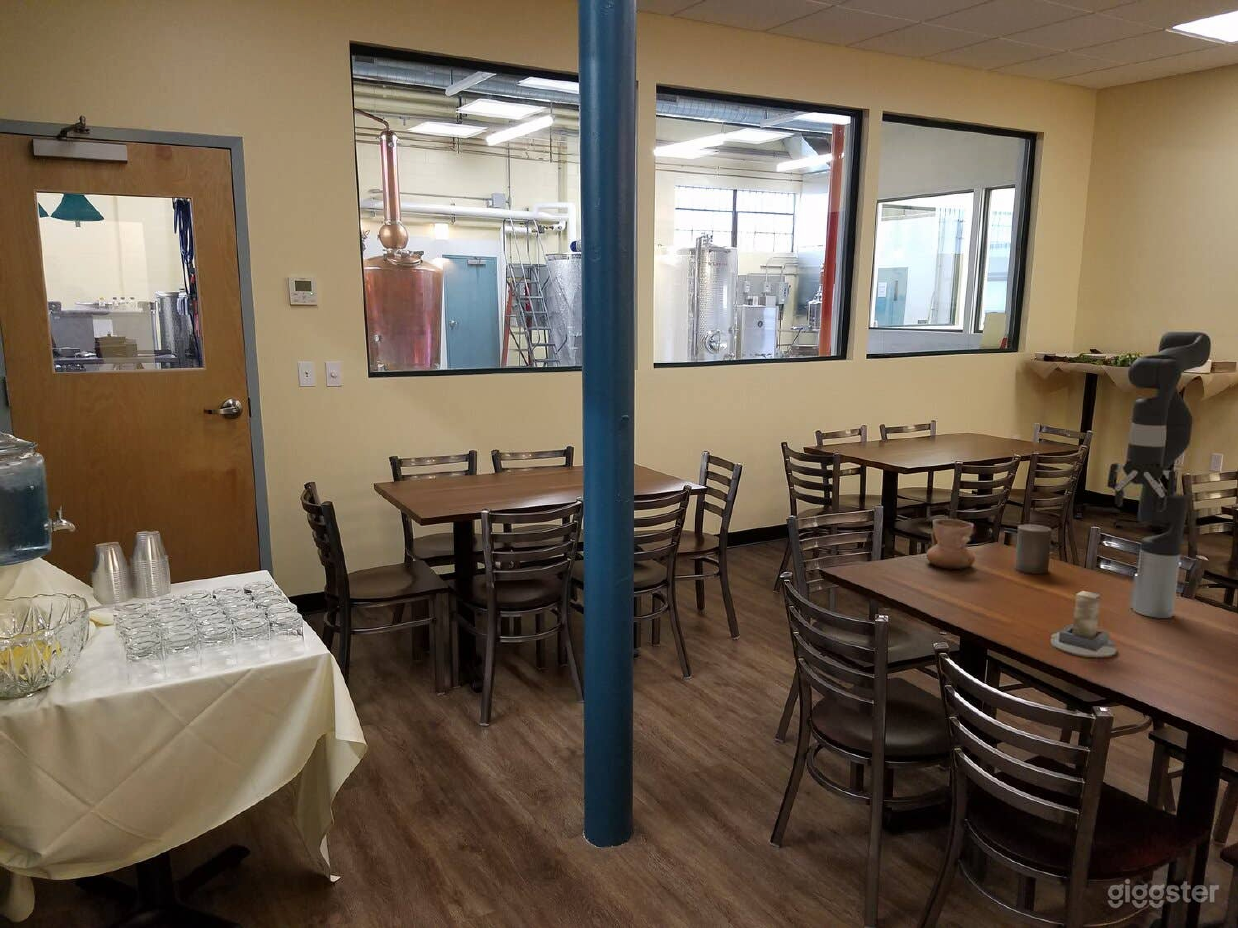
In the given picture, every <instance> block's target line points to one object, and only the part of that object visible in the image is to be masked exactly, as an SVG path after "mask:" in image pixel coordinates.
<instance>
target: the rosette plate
mask: <svg viewBox="0 0 1238 928" xmlns="http://www.w3.org/2000/svg"><path fill="white" fill-rule="evenodd" d="M1072 632H1073V623H1071V624H1069V625H1067V626H1065V627H1064V628H1063V629H1062V630H1059V631H1057V632H1055V633H1053V634H1052V635H1051V636H1050V644H1051V645H1052V646H1053V647H1054V648H1056V649H1057V648H1058V649H1057V650H1059V651H1061V652H1064V653H1067V654H1069V653H1070V655H1073V656H1077V657H1084V658H1089V657H1097V658H1096V659H1099V658H1098V657H1101V658H1100V659H1103V658H1102V657H1108V658H1111V657H1114V656H1115V655H1116V654H1117V645H1116V644H1115V643H1114V642H1113V641H1111V640H1110V639H1109V636H1110V635H1109V634H1110V632H1109V631H1105V630H1100V629H1097V630H1096V637H1095V638H1094V639H1093V638H1089V637H1085V636H1081V635H1077V634H1073V633H1072ZM1113 655H1114V656H1113Z"/></svg>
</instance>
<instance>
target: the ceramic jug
mask: <svg viewBox="0 0 1238 928" xmlns="http://www.w3.org/2000/svg"><path fill="white" fill-rule="evenodd" d="M932 527H933V530H931V531H932V532H931V541H932V547H930V548H929V549H928V550H927V551H926V555H925V556H926V559H927V560H928V561H929V562H930V563H931V564H932V565H934V566H936V567H940V568H944V569H946V570H947V569H948V570H960V569H966V568H969V567H971V566H972V565H973V564H974V563H975V561H976V557H975V555H974V553H973V552H972V551H971V550H969V548H967V547H966V544H967V543H968V542H970V541H971V536H972V533H973V530H974V527H975V526H974V523H971V522H968V521H964V520H959V519H953V518H938V519H933V521H932Z"/></svg>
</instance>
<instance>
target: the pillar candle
mask: <svg viewBox="0 0 1238 928" xmlns="http://www.w3.org/2000/svg"><path fill="white" fill-rule="evenodd" d="M1052 531H1053V530H1052V528H1051V527H1048V526H1044V525H1041V524H1040V525H1039V524H1037V523H1035V524H1020V525H1018V526H1017V535H1016V536H1017V539H1016V547H1015V548H1016V550H1015V560H1014V569H1015V570H1016V571H1018V572H1021V573H1026V574H1034V575H1045V574H1048V573H1049V565H1050V553H1051V541H1052V534H1053V533H1052Z"/></svg>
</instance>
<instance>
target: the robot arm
mask: <svg viewBox="0 0 1238 928" xmlns="http://www.w3.org/2000/svg"><path fill="white" fill-rule="evenodd" d="M1211 348H1212V343H1211V338H1210V335H1208V334H1207V333H1205V332H1199V331H1167V332H1165V333H1163V335H1162V336H1161V338H1160V341H1159V345H1158V352H1157V353H1156V354H1153V355H1151V354H1150V355H1146V356H1140V357H1138V358H1137V359H1135V360H1134V361H1133V362H1132V364H1131V363H1130V366H1129V368H1128V372H1127V378H1128V381H1129V383H1130V384H1131V385H1133V386H1134V387H1135V388H1139V389H1151V390H1152V389H1153V390H1155V394H1154V395H1155V396H1153V397H1147V398H1146V397H1145V398H1140V399H1139V398H1138V399H1137V400H1135V401H1134V404H1133V409H1132V416H1131V417H1132V419H1131V425H1130V430H1129V434H1128V438H1127V439H1128V440H1127V441H1128V444H1127V451H1126V452H1127V453H1126V460H1125V461H1126V462H1125V464H1120V463H1119V462H1114V463H1112V464H1111V465H1110V468H1109V474H1108V479H1107V484H1106V485H1107V487H1108V488H1111V489H1113V490H1114V491H1115V493H1114V504H1116V506H1117V507H1119V508H1120V507H1123V504H1124V503H1123V502H1124V496H1125V490H1124V489H1125V488H1126V487H1127V486H1128V485H1130V484H1131V483H1132V484H1133V485H1142V488H1141V490H1140V491H1141V492H1140V497H1139V502H1138V507H1137V508H1138V511H1137V518H1138V521H1139V523H1140V524H1143V525H1148V526H1149V525H1150V526H1155V527H1164V528H1169V530H1168V531H1166V532H1164V533H1161V534H1158V535H1150V536H1146V537H1143V538H1142V540H1141V541H1140V546H1139V547H1140V550H1139V557H1138V567H1137V573H1135V574H1134V575H1133V583H1132V591H1131V592H1132V593H1131V599H1130V608H1131V609H1133V612H1135V613H1137V614H1139V615H1142V616H1145V617H1149V618H1156V619H1168V618H1172V617H1173V616H1174V610H1175V609H1174V608H1175V603H1176V602H1175V601H1176V594H1177V585H1178V578H1179V571H1180V562H1181V561H1180V560H1181V553H1182V543H1183V537H1184V535H1183V534H1184V531H1185V525H1186V521H1187V515H1188V507H1189V501H1188V498H1187V496H1186V495H1185V494H1183V493H1178V492H1177V491H1178V488H1177V487H1178V477H1179V476H1178V475H1179V474H1178V470H1177V469H1172V470H1170V466H1171V465H1172V464H1173V463H1175V462H1176V460H1178V458H1180V457H1181V455H1182V454H1183V453H1184V452H1185V451H1186V449H1187V448H1188V447H1189V445H1190V443H1191V437H1192V428H1193V423H1194V421H1193V416H1192V414H1191V411H1190V410H1189V407H1188V406H1187V404H1186V402H1185V401H1184V399H1183V397H1182V396H1181V394H1180V392H1179V390H1178V389H1177V386H1178V384H1179V382H1180V380H1181V378H1182V373H1183V372H1185V371H1188V370H1191V369H1196V368H1201V367H1203V366H1205V365H1206V364H1207V362H1208V361H1209V358H1210V355H1211ZM1122 470H1123V471H1124V474H1125V475H1126V477H1124V479H1122V480H1121V481H1120V483H1117V480H1118V475H1119V473H1120V472H1121V471H1122ZM1163 475H1164V476H1165V479H1167V480H1168V484H1167V485H1168V486H1167V490H1166V488H1165V486H1164V484H1163V483H1162V481H1161V480H1160V479H1161V478H1162V476H1163Z"/></svg>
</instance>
